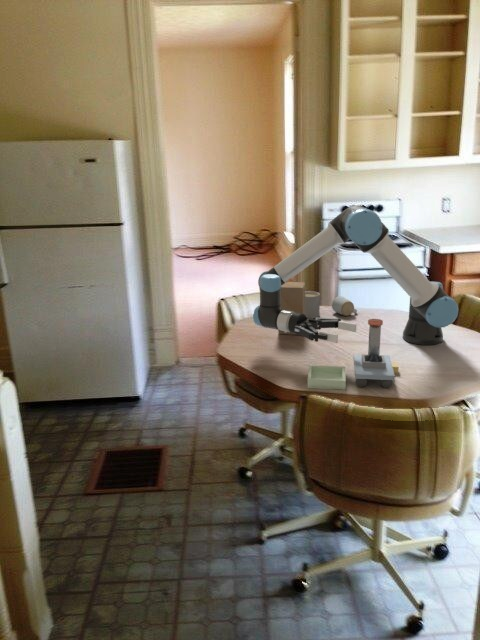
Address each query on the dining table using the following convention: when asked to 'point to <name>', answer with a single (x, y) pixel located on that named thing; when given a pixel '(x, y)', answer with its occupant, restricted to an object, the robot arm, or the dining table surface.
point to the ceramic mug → (343, 306)
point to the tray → (326, 377)
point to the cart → (374, 370)
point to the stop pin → (374, 339)
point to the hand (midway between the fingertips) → (346, 333)
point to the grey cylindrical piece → (312, 304)
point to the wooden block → (292, 299)
